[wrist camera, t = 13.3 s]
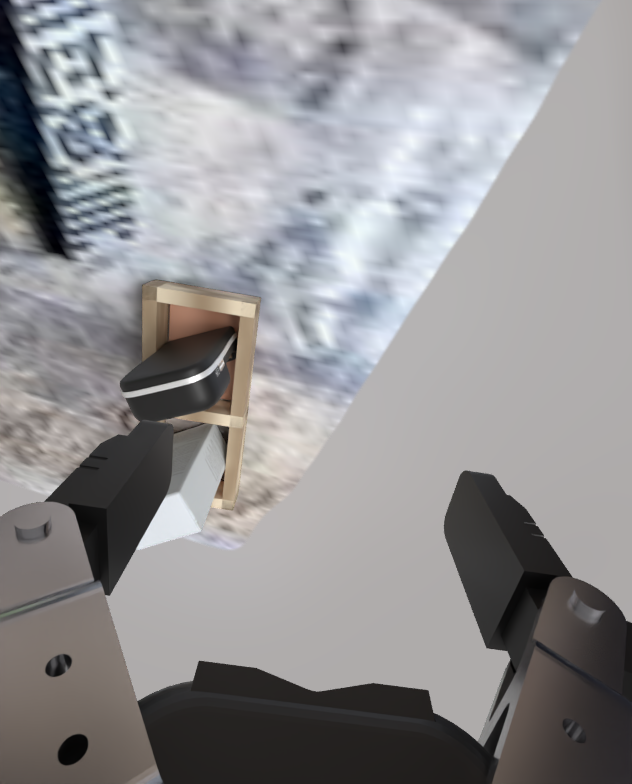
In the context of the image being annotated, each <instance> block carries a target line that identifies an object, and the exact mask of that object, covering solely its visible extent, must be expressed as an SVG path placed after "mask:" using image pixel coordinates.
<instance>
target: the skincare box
mask: <svg viewBox="0 0 632 784" xmlns="http://www.w3.org/2000/svg"><path fill="white" fill-rule="evenodd" d="M226 456H227V444H226V442H225V440H224V438H223V436H222V434H221V432H220V430H219V428H218V426H217V425H215V424H209V423H206V424H203V425H200V426H197V427H194V428H191V429H188V430H185V431H182V432H179V433H176V434H173V459H172V477H171V482H170V486H169V489H168V492H167V494H166V496H165V498H164V500H163V502H162V504H161V505H160V507H159V509H158V511H157V513H156V514H155V516H154V518H153V520H152V521H151V523H150V525H149V527H148V529H147V530H146V532H145V534H144V536H143V537H142V539H141V541H140V543H139V545H138V546H137V548H136V549H137V550H141V549H144V548H147V547H151V546H154V545H157V544H161V543H164V542H167V541H171V540H174V539H177V538H181V537H184V536H188V535H191V534H194V533H198V532H201V531H202V528H203V525H204V523H205V520H206V518H207V515H208V512H209V510H210V507H211V504H212V502H213V499H214V496H215V494H216V491H217V488H218V486H219V483H220V481H221V478H222V475H223V473H224V470H225V467H226Z"/></svg>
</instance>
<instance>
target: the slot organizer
mask: <svg viewBox="0 0 632 784" xmlns="http://www.w3.org/2000/svg"><path fill="white" fill-rule="evenodd" d="M260 301H261V298H260V297H255V296H249V295H243V294H237V293H231V292H226V291H220V290H214V289H208V288H202V287H196V286H191V285H185V284H179V283H173V282H167V281H162V280H153V281H151V282H148V283H146V284H143V285H142V362H143V361H144V360H146V359H147V358H148V357H150V356H151V355H152V354H154V353H155V352H156V351H158V350H159V349H160V348H161V347H162V346H164V345H165V344H166V343H167V342H168V315H169V304H170V319H169V341H172V340H176V339H180V338H184V337H188V336H192V335H196V334H200V333H204V332H208V331H212V330H216V329H220V328H224V327H228V326H232V327H233V328H234V331H235V332H236V333H237V339H238V343H237V354H236V359H234V360H232V361H229V362H227V364H226V365H227V368H228V370H229V374H230V384H229V385H228V387H227V389H226V391H225V393H224V394H223V396H222V397H221V398H220V399H226V400H232V401H226V400H219V401H218V402H217V403H216V404H215V405H214V406H212V407H211V408H209V409H207V410H205V411H201V412H197V413H193V414H188V415H184V416H180V417H175V418H177V419H183V420H189V421H196V422H202V423H209V424H215V425H221V426H228V427H229V436H228V446H227V456H226V467H225V477H224V481H220V483H219V486H218V488H217V491H216V494H215V496H214V499H213V502H212V504H211V507H212V508H219V509H226V510H233V509H234V505H235V502H236V499H237V496H238V492H239V484H240V475H241V466H242V457H243V449H244V440H245V431H246V423H247V414H248V405H249V397H250V388H251V379H252V371H253V362H254V353H255V345H256V336H257V327H258V319H259V310H260ZM157 422H162V423H165V420H162V421H157Z"/></svg>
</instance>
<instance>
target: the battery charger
mask: <svg viewBox="0 0 632 784" xmlns="http://www.w3.org/2000/svg"><path fill="white" fill-rule="evenodd" d="M237 343H238V339H237V333H236V332H235V331H234V328H233V327H232V326H228V327H224V328H220V329H216V330H212V331H208V332H204V333H200V334H196V335H192V336H188V337H184V338H180V339H176V340H172V341H169V342H167V343H166V344H165V345H164V346H162V347H161V348H160V349H159V350H158V351H156V352H155V353H154V354H152V355H151V356H150V357H148V358H147V359H146V360H144V361H143V362H142V363H140V364H139V365H138V366H137V367H135V368H134V369H133V370H132V371H131V372H130V373H128V374H127V375H126V376H125V377H124V378H123V379H122V380H121V381H120V387H121V393H122V395H123V397H125V398H126V400H127V402H128V405H129V407H130V409H131V411H132V413H133V415H134V416H135V418H136V419H138V420H139V421H142V420H149V421H155V422H157V421H162V420H166V419H171V418H175V417H180V416H184V415H188V414H193V413H197V412H201V411H205V410H207V409H209V408H211V407H212V406H214V405H215V404H216V403H217V402H218V401H219V400H220V398H221V397H222V396H223V394H224V393H225V391H226V389H227V387H228V385H229V384H230V374H229V370H228V368H227V365H226V364H227V362H229V361H232V360H234V359H236V354H237Z"/></svg>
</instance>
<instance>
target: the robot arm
mask: <svg viewBox="0 0 632 784" xmlns="http://www.w3.org/2000/svg"><path fill="white" fill-rule="evenodd" d="M172 459H173V426H172V424H168V423H162V422H155V421H149V420H142V421H141V422H140V423H139V424H138V425H137V426H136V427H135V429H134V430H133V431H132V432H131V433H130V434H129V435H128V436H124V435H117V436H115V437H113V438H111V439H109V440H107V441H105V442H103V443H101V444H100V445H99V446H98V447H97V448H96V449H95V450H94V451H93V452H92V453H91V454H90V455H89V458H86V459H85V460H84V461H83V462H82V463H81V464H80V467H79V468H76V470H75V471H74V472H73V473H72V474H71V475H70V476H69V477H68V478H67V479H66V480H65V481H64V482H63V483H62V484H61V485H60V486H59V487H58V488H57V489H56V490H55V491H54V492H53V493H52V494H51V495H50V496H49V497H48V498H47V499H46V500H45V501H44V502H36V503H31V504H27V505H23V506H20V507H18V508H15V509H13V510H11V511H8V512H7V513H5V514H3V515H2V516H1V517H0V784H632V623H630V622H628V621H626V619H625V616H624V615H623V613H622V611H621V610H620V609H619V607H618V606H617V605H616V604H615V602H613V601H612V600H611V599H610V598H609V597H608V596H607V595H605V594H604V593H603V592H602V591H600V590H599V589H597V588H596V587H594V586H592V585H591V584H588V583H586V582H584V581H582V580H579V579H576V578H573V577H572V576H571V574H570V573H569V571H568V570H567V568H566V567H565V565H564V564H563V563H562V561H561V560H560V558H559V557H558V555H557V554H556V552H555V551H554V549H553V548H552V547H551V545H550V543H549V542H548V541H547V539H546V538H544V535H543V533H542V532H541V530H540V529H539V527H538V526H536V523H535V522H534V520H533V519H532V517H531V516H530V514H529V513H528V511H527V510H526V509H525V508H524V507H523V506H522V505H520V503H518V502H517V501H516V500H515V499H514V498H513V497H511V496H510V495H506V493H505V492H504V490H503V489H502V487H501V486H500V484H499V483H498V481H497V479H496V478H495V477H494V476H493V475H490V474H484V473H478V472H471V471H463V472H462V474H461V475H460V477H459V480H458V482H457V485H456V488H455V491H454V493H453V496H452V499H451V502H450V504H449V507H448V510H447V513H446V516H445V521H444V533H445V538H446V540H447V543H448V546H449V549H450V551H451V554H452V556H453V559H454V562H455V565H456V567H457V570H458V573H459V576H460V578H461V581H462V583H463V586H464V589H465V592H466V594H467V597H468V600H469V602H470V605H471V608H472V610H473V613H474V616H475V618H476V621H477V624H478V626H479V629H480V632H481V634H482V637H483V640H484V643H485V645H486V648H489V649H496V650H504V651H508V653H509V656H510V658H511V659H510V661H509V663H508V665H507V667H506V669H505V671H504V674H503V677H502V679H501V682H500V685H499V687H498V690H497V693H496V696H495V698H494V701H493V704H492V706H491V709H490V712H489V714H488V717H487V720H486V722H485V725H484V728H483V730H482V733H481V735H480V738H479V740H478V742H477V741H476V740H475V739H474V738H473V737H471V736H470V735H469V734H468V733H467V732H465V731H464V730H462V729H461V728H459V727H458V726H457V725H455V724H454V723H452V722H450V721H448V720H447V719H445V718H443V717H441V716H440V715H437V714H435V713H433V710H432V705H431V701H430V696H429V691H428V690H422V689H413V688H406V687H398V686H391V685H383V684H375V683H372V684H365V685H359V686H352V687H346V688H340V689H333V690H327V691H321V692H316V691H311V690H308V689H305V688H303V687H300V686H298V685H296V684H293V683H291V682H289V681H286V680H284V679H281V678H279V677H277V676H274V675H271V674H269V673H267V672H265V671H262V670H260V669H257V668H251V667H243V666H236V665H228V664H220V663H213V662H204V661H199V662H198V666H197V669H196V673H195V676H194V680H193V681H190V682H184V683H180V684H176V685H173V686H169V687H166V688H164V689H161V690H159V691H156V692H154V693H152V694H150V695H148V696H146V697H144V698H143V699H141V700H139V701H137V699H136V696H135V692H134V689H133V686H132V682H131V680H130V676H129V673H128V669H127V666H126V663H125V659H124V656H123V653H122V650H121V646H120V643H119V640H118V636H117V633H116V630H115V626H114V623H113V620H112V616H111V613H110V610H109V607H108V603H107V600H106V597H105V595H110V594H111V593H112V591H113V589H114V587H115V585H116V584H117V582H118V580H119V578H120V577H121V575H122V573H123V571H124V569H125V568H126V566H127V564H128V562H129V560H130V559H131V557H132V555H133V553H134V552H135V550H136V548H137V546H138V545H139V543H140V541H141V539H142V537H143V536H144V534H145V532H146V530H147V529H148V527H149V525H150V523H151V521H152V520H153V518H154V516H155V514H156V513H157V511H158V509H159V507H160V505H161V504H162V502H163V500H164V498H165V496H166V494H167V492H168V489H169V486H170V482H171V477H172Z"/></svg>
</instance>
